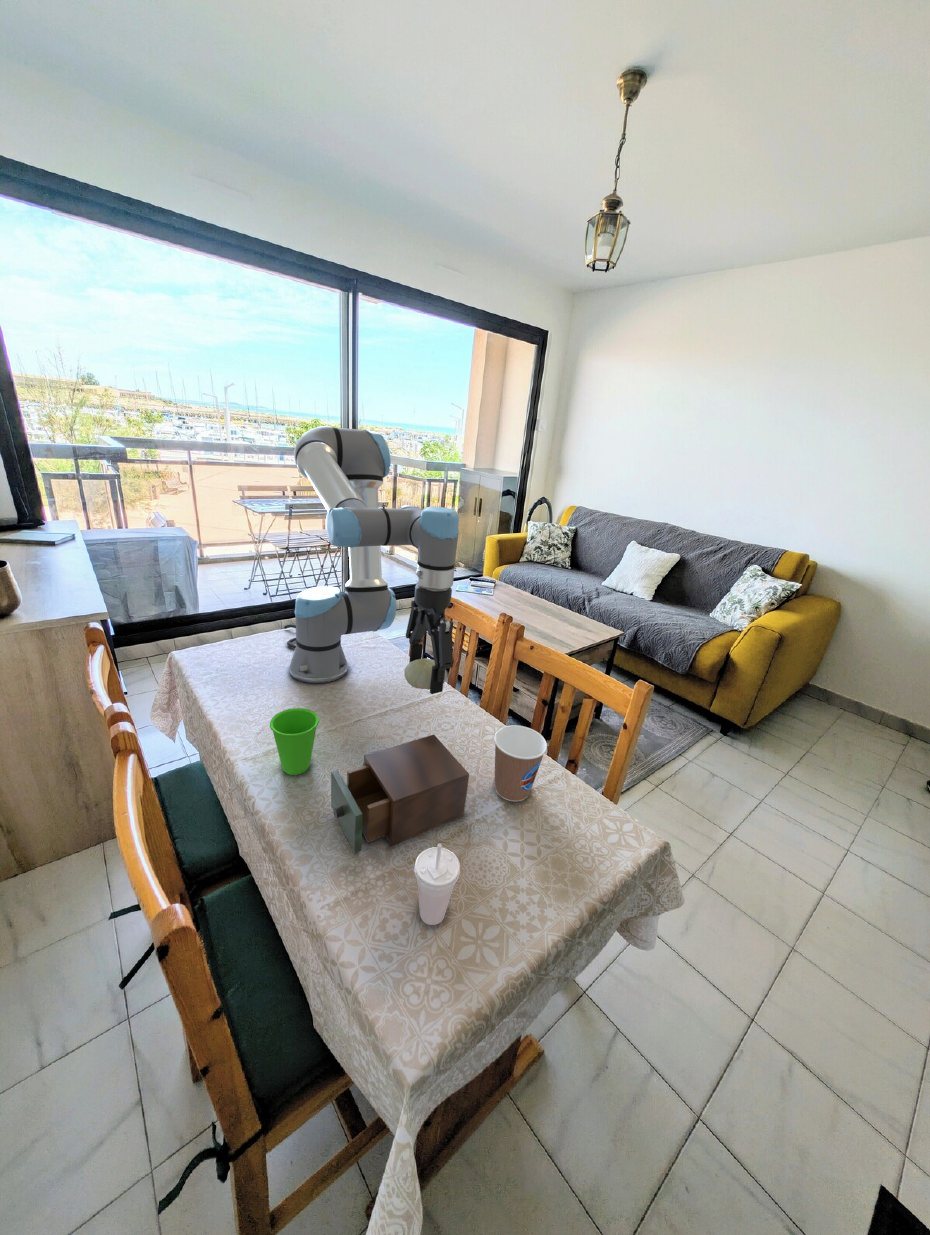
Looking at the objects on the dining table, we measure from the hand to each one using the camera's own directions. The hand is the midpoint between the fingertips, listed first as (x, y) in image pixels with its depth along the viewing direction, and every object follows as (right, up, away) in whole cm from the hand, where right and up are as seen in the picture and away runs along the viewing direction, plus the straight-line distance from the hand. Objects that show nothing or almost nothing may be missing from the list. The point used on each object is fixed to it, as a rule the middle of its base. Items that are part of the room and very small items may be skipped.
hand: (425, 681), depth 104 cm
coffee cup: (+18, -21, -9) cm, 29 cm away
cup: (-25, -16, -9) cm, 31 cm away
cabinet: (-1, -21, -16) cm, 27 cm away
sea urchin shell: (0, 0, 0) cm, 1 cm away
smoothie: (+4, -30, -35) cm, 46 cm away
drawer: (-7, -21, -20) cm, 30 cm away
